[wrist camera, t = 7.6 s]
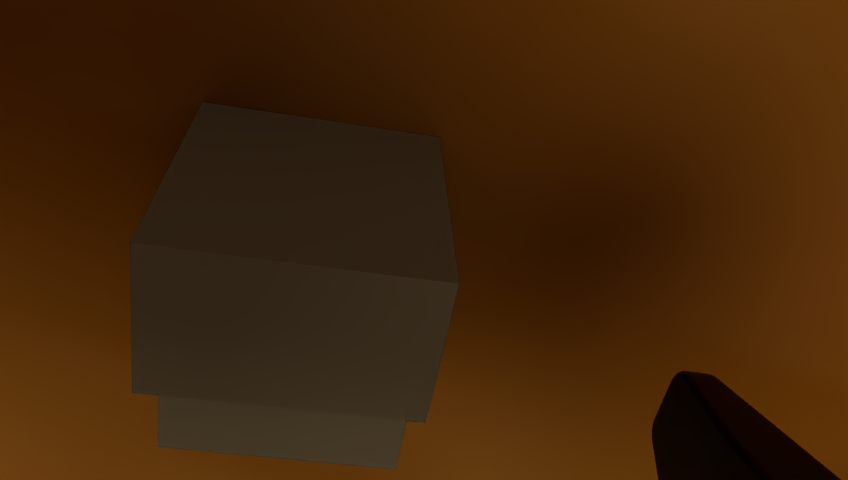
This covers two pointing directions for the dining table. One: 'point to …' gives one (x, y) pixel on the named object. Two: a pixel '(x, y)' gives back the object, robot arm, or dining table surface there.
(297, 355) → the chock
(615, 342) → the dining table surface
